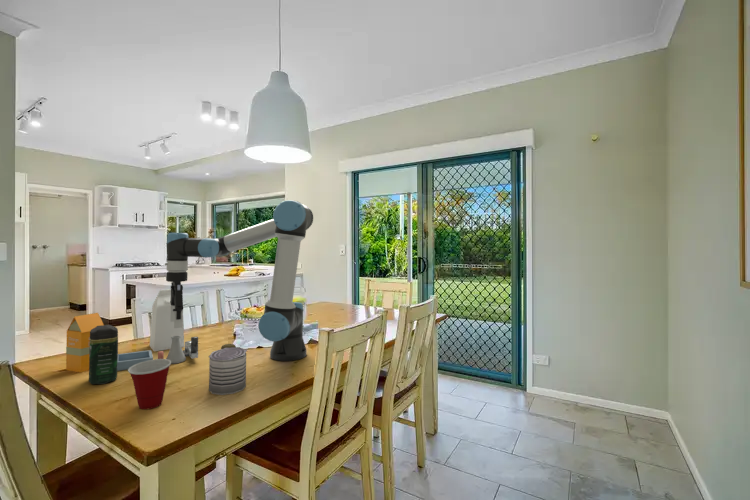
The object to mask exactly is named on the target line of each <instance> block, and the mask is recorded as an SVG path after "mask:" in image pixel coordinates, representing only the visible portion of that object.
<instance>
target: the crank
mask: <svg viewBox="0 0 750 500" xmlns="http://www.w3.org/2000/svg"><path fill="white" fill-rule="evenodd" d="M184 350H185V351H187V352H188V354H189V355H190V356H189V357H190V358H191V359H192V360H193V359H196V358H197V359H198V358H199V336H191V337H190V340H188V341H184Z"/></svg>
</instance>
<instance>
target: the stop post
mask: <svg viewBox="0 0 750 500" xmlns="http://www.w3.org/2000/svg"><path fill="white" fill-rule="evenodd" d="M164 353H165V351H164V350H160V351H157V359H165V357H164Z"/></svg>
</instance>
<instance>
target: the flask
mask: <svg viewBox="0 0 750 500" xmlns="http://www.w3.org/2000/svg"><path fill="white" fill-rule="evenodd" d="M180 337H181V336H172V337H171V339H172V344H171V348H170V349H169V351H168V353H167V355H166V358H165V359H168V360H170V361H171V364H180V363H183V362H185V361H186V360H187V358H186V356H185V355H184V353H183V347H181V345H180Z"/></svg>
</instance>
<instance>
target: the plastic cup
mask: <svg viewBox="0 0 750 500" xmlns="http://www.w3.org/2000/svg"><path fill="white" fill-rule="evenodd" d="M171 365H172V363H171V361H170V360H168V359H166V358H164V359H158V358H156V359H154V358H153V360H148V361H144V362H141V363H138V364H135V365H133V366H131V367H130V368H129V369H127V372H128V373H129V374H130V376H131V378H132V382H133V388H134V392H135V397H136V401H137V406H138V408H139V409H141V410H151V409H156V408H158V407H160V406H161V405H162V403H163V399H164V394H165V391H166V385H167V380H168V374H169V370H170V366H171Z"/></svg>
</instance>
